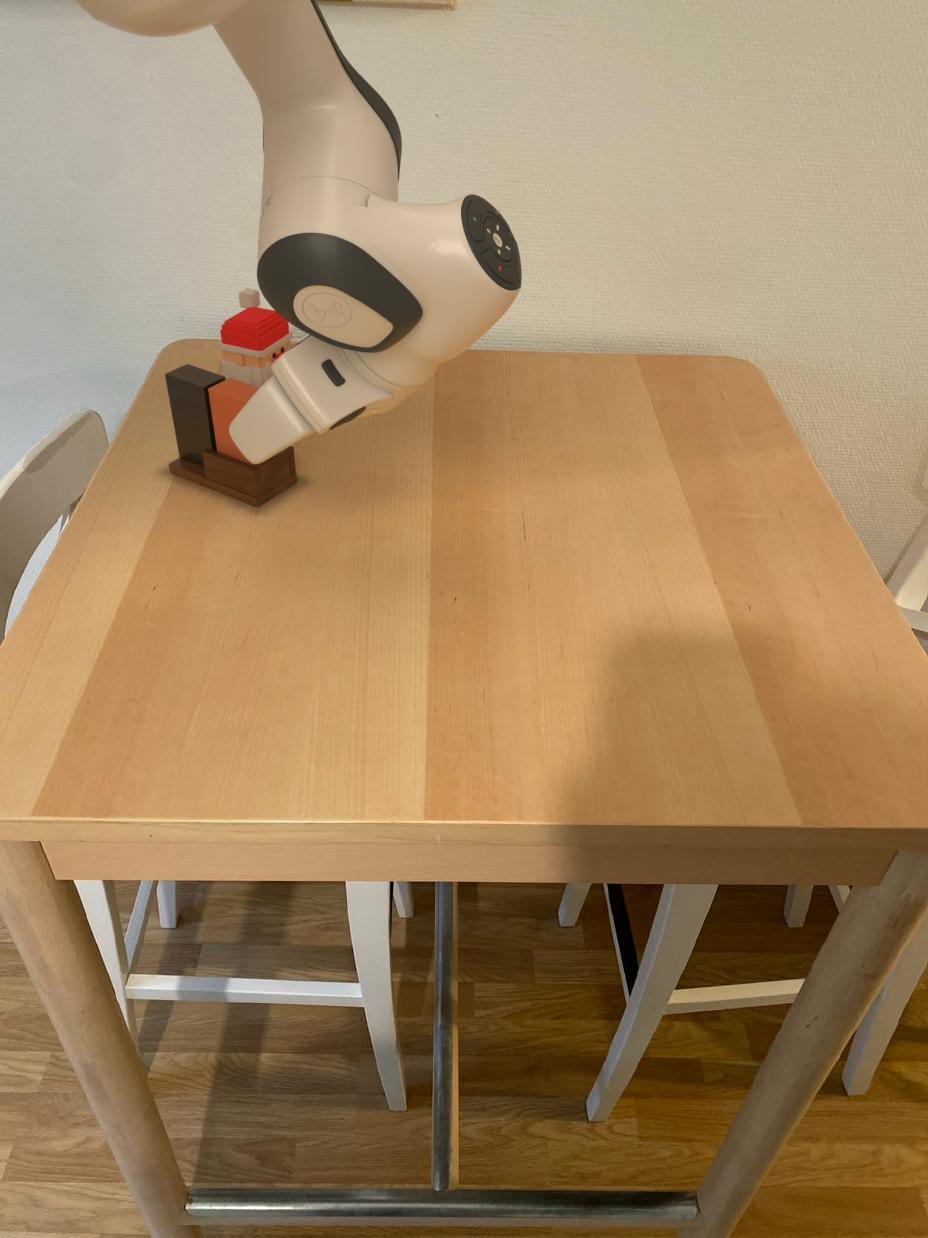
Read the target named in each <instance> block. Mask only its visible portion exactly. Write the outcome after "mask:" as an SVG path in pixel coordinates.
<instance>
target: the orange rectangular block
mask: <svg viewBox="0 0 928 1238" xmlns="http://www.w3.org/2000/svg"><path fill="white" fill-rule="evenodd" d="M258 389H259V388H258V387H255V386H252V385H250V384H247V383H244V382H241V381H238V380H235V379H232V378H229V379H227V380H225V381H223V382H221V383H219V384H217V385H215V386H212V387H210V388H209V389H208V392H209V398H210V405H211V412H212V419H213V426H214V432H215V439H216V446H217V452H219V453H222V454H225V455H227V456H230V457H233V458H235V459H238V460H240V461H243V462H246V463H248V464H251V465H254V464H252V463H251V462H250V461H249V460H247V459H246V457H245V456H244V455H243V454H242V453H241V451H240V450H239V449H238V447H237V446H236V444H235V443H234V441H233V440H232V438H231V436H230V433H229V427H230V424H231V423H232V421H233V420H234V418H235V417H236V416H237V415H238V413H239V412H240V411H241V410H242V408H243V407H244V406H245V405H246V403H247V402H248V401H249V400H250V399H251V397H252V396H253V395H254V394H255V393H256V392H257V390H258Z"/></svg>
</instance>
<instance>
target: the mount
mask: <svg viewBox="0 0 928 1238" xmlns="http://www.w3.org/2000/svg"><path fill="white" fill-rule="evenodd" d="M164 378H165V385H166V389H167V395H168V401H169V406H170V411H171V418H172V423H173V428H174V429H173V430H174V435H175V440H176V445H177V451H178V457H179V458H176V459H175V460H173V461H171V462H169V463H168V468H169V472H170V473H171V474H173V475H176V476H178V477H181V478H184V479H186V480H189V481H191V482H193V483H195V484H198V485H201V486H203V487H205V488H208V489H210V490H213V491H215V492H218V493H221V494H223V495H225V496H228V497H231V498H232V499H235V500H237V501H240V502H243V503H245V504H248V505H250V506H252V507H255V508H259V507H261V506H262V505H264V504H265V503H267V502H268V501H270V500H271V499H273V498H275V497H276V496H277V495H279V494H280V493H282V492H284V491H285V490H287V489H289V488H291V486H294V484H296V483H298V473H297V470H296V469H297V467H296V457H295V447H294V446H293V445H291V446H289V447H288V448H286V449H284V450H283V451H281V452H279V453H278V454H276V455H274V456H273V457H271V458H269V459H268V460H266V461H264V462H262V463H260V464H254V465H251V464H248V463H246V462H243V461H240V460H238V459H235V458H233V457H230V456H227V455H225V454H222V453H219V452H217V446H216V439H215V432H214V426H213V419H212V412H211V405H210V398H209V392H208V389H209V388H210V387H212V386H215V385H217V384H219V383H221V382H223V381H225V380H226V378H225V376H223V374H219V373H215V372H213V371H210V370H207V369H205V368H201V367H198V366H195V365H192V364H189V363H186V364H183V365H181V366H179V367H177V368H175V369H173V370H171V371H169V372H166V373H165V374H164Z"/></svg>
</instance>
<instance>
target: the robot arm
mask: <svg viewBox="0 0 928 1238" xmlns="http://www.w3.org/2000/svg"><path fill="white" fill-rule="evenodd" d="M74 1H75V2H76V3H77V4H78V5H79V6H80V7H81V8H82V9H83V11H85V12H86V13H87V14H88V15H89V16H90V17H91V18H92V19H94V20H95V21H98V22H99V23H102V24H103V25H106V26H108V27H110V28H113V29H116V30H119V31H121V32H123V33H126V34H127V33H128V34H131V35H136V36H140V37H149V38H170V37H171V38H172V37H176V36H177V37H178V36H183V35H186V34H190V33H194V32H196V31H199V30H203V29H206V28H207V27H210V26H212V27H213V28H214V30H215V31H216V33H217V35H218V37H219V38H220V39H221V41H222V43H223V44H224V46H225V47H226V49H227V51H228V52H229V54H230V56H231V57H232V59H233V61H234V62H235V64H236V65H237V67H238V68H239V70H240V71H241V73H242V75H243V77H244V78H245V79H246V82H248V85H249V86H250V87H251V89H252V91H253V92H254V94H255V96H256V98H257V101H258V104H259V108H260V111H261V117H262V151H263V167H262V168H263V169H262V184H261V201H260V216H259V220H258V221H259V223H258V239H257V256H256V257H257V261H256V262H257V263H256V265H257V266H256V267H257V268H256V280H257V284H258V288H259V291H260V292H261V295H262V296H263V297H264V300H266V303H268V304H269V306H270V307H271V308H272V310H274V311H276V312H277V313H278V314H279V315H280V316H281V317H283V318H284V319H285V320H286V321H288V324H291V325H292V326H293V327H294V328H296V329H298V330H300V331H302V332H304V333H305V334H307V336H306V337H305V338H303V339H302V340H300V341H299V342H297V343H296V344H295V345H293V346H291V348H290V349H289V350H288V351H286V352H285V353H284V354H282V355H281V356H280V357H279V358H278V359H277V360H276V361H275V362H274V363H273V364H272V366H271V369H272V371H273V372H274V374H275V375H273V376H272V377H271V378H270V379H269V380H268V381H267V382H265V383H264V384H263V385H262V386H261V387H260V388H259V389H258V390H257V392H256V393H255V394H254V395H253V396H252V397H251V399H250V400H249V401H248V402H247V403H246V405H245V406H244V407H243V408H242V410H241V411H240V412H239V413H238V415H237V416H236V417H235V418H234V420H233V421H232V423H231V424H230V427H229V433H230V436H231V438H232V440H233V441H234V443H235V444H236V446H237V447H238V449H239V450H240V451H241V453H242V454H243V455H244V456H245V457H246V459H247V460H249V461H250V462H251V463H252V464H260V463H262V462H264V461H266V460H268V459H269V458H271V457H273V456H274V455H276V454H278V453H279V452H281V451H283V450H284V449H286V448H288V447H289V446H293V445H294V444H296V443H298V442H299V441H302V440H303V439H305V438H307V437H309V436H310V435H313V434H315V433H317V434H319V435H323V434H326V433H327V432H328V431H332V430H334V429H336V428H338V427H340V426H342V425H344V424H346V423H350V422H351V421H354V420H357V419H361V418H365V417H369V416H372V415H376V414H377V415H378V414H379V415H380V414H385V413H387V412H390V411H392V410H393V409H394V408H396V407H397V406H398V405H399V404H401V403H402V402H403V401H404V400H406V399H408V397H409V396H410V395H411V394H413V393H414V392H415V391H417V390H418V389H419V388H420V387H422V386H423V385H424V384H425V383H427V382H428V381H429V380H430V379H431V378H432V377H433V376H434V375H435V373H436V371H437V369H438V368H439V366H440V365H441V364H442V363H444V362H448V361H451V360H452V359H455V358H456V357H459V356H460V355H461V354H463V353H464V352H465V351H466V350H467V349H469V348H470V347H471V346H473V344H475V343H476V342H477V341H479V340H480V339H481V338H482V337H483V336H484V335H485V334H486V333H487V332H489V331H490V330H491V329H492V328H493V327H494V326H495V325H496V324H497V322H499V321H500V319H502V317H503V316H504V315H505V314H506V312H507V311H508V310H509V309H510V307H511V306H512V305H513V303H514V302H515V300H516V299H517V297H518V295H519V293H520V291H521V288H522V281H523V279H522V278H523V271H522V261H521V260H522V259H521V253H520V250H519V249H520V248H519V245H518V241H517V240H516V238H515V236H514V234H513V232H512V230H511V227H510V224H508V222H507V220H506V219H505V218H504V216H503V215H502V214H501V212H500V211H499V210H498V209H497V208H496V207H495V206H493V204H492V203H490V202H489V201H488V200H487V199H485V198H484V197H482V196H480V195H479V194H474V193H467V194H464V195H461V196H459V197H457V198H455V199H452V200H450V201H447V202H442V203H428V204H426V203H424V204H418V203H406V202H400V201H399V182H400V172H401V162H402V161H401V160H402V153H403V152H402V151H403V137H402V132H401V128H400V125H399V123H398V119H397V118H396V116H395V114H394V112H393V110H392V109H391V107H390V106H389V105H388V103H387V102H386V100H385V99H384V98H383V97H382V96H381V95H380V94H379V93H378V92H377V90H375V88H374V87H373V86H372V84H370V83H369V82H368V81H367V80H366V79H365V78H364V77H363V76H362V75H361V74H360V73H359V72H358V70H356V69H355V68H354V66H353V65H352V64H351V63H350V61H349V60H348V59H347V57H346V56H345V55H344V52H343V51H342V50H341V48H340V46H339V44H338V43H337V41H336V39H335V37H334V35H333V33H332V31H331V29H330V27H329V25H328V23H327V21H326V18H325V17H324V15H323V12H322V11H321V8H320V7H319V4H318V2H317V0H74Z"/></svg>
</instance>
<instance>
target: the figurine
mask: <svg viewBox="0 0 928 1238" xmlns="http://www.w3.org/2000/svg"><path fill="white" fill-rule="evenodd" d="M260 297H261V296H260V290H258V289H254V288H248V287H246V288H244V289H242V290H240V291H239V292H238V301H239V306H240V308H243V310H241V311H239V312H237V313H236V314H234V315H233V316H231V317H229V318H228V319H225V320H224V321H223V323H222V324H221V329H220V331H219V332H220V341H218V348H219V350H220V351H221V350H222V356H223V357H221V358H220V366H221V373H222V374H221V375H222V376H225V378H226V380H227V379H229V378H232V379H235V380H238V381H241V382H244V383H247V384H250V385H252V386H255V387H258V388H260V387H261V386H262V385H263V384H264V383H265V382H267V381H268V380H269V379H270V378H271V377H272V376H273V375H275V374H274V372H273V371H272V369H271V366H272V364H273V363H274V362H275V361H276V360H277V359H278V358H279V357H280V356H281V355H282V354H284V353H285V352H286V351H288V350H289V349H290V348H291V347H292V346H291V340H293V337H294V336H293V332H292V331H290V327H289V326H290V325H289V322H288V321H286V320H285V319H284V318H283V317H281V316H280V315H279V314H278V313H277V312H276V311H275V310H274V309H268V308H263V307H261V298H260Z"/></svg>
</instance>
